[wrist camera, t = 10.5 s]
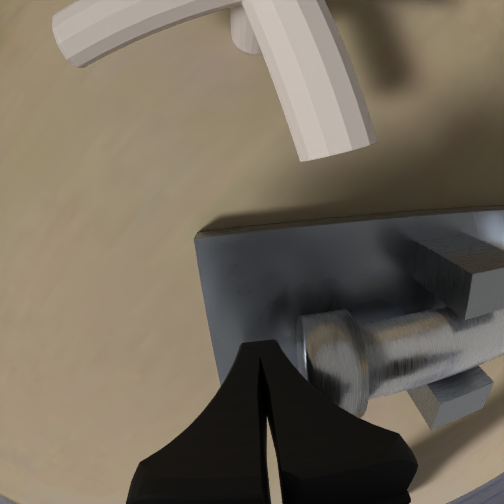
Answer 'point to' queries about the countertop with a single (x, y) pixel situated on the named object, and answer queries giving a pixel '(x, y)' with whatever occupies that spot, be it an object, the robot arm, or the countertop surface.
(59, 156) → the countertop surface
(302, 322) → the shaft
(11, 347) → the countertop surface
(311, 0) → the white crossed rods piece
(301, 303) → the metal support fixture
